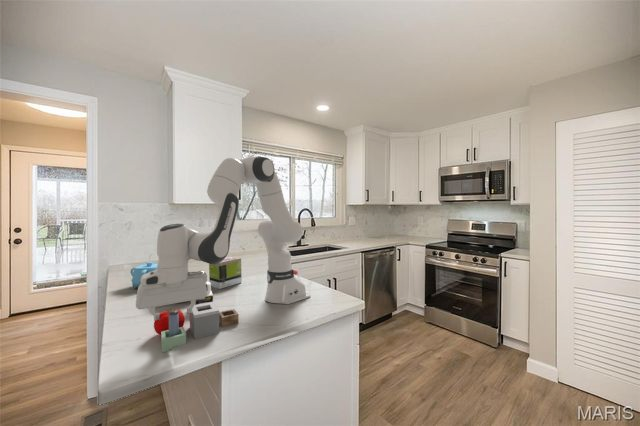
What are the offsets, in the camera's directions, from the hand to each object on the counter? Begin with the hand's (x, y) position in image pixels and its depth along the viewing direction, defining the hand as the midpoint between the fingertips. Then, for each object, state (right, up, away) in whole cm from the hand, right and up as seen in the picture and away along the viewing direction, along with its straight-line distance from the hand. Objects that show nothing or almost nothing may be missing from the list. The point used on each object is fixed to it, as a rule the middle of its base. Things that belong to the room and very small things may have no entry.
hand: (173, 316), depth 88 cm
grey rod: (0, -8, 0) cm, 8 cm away
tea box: (-7, -8, +67) cm, 68 cm away
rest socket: (0, -9, 0) cm, 10 cm away
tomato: (-5, -9, +8) cm, 14 cm away
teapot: (-46, -8, +64) cm, 79 cm away
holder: (+13, -9, +15) cm, 22 cm away
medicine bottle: (-3, -9, +30) cm, 32 cm away
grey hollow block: (+6, -9, +9) cm, 14 cm away
